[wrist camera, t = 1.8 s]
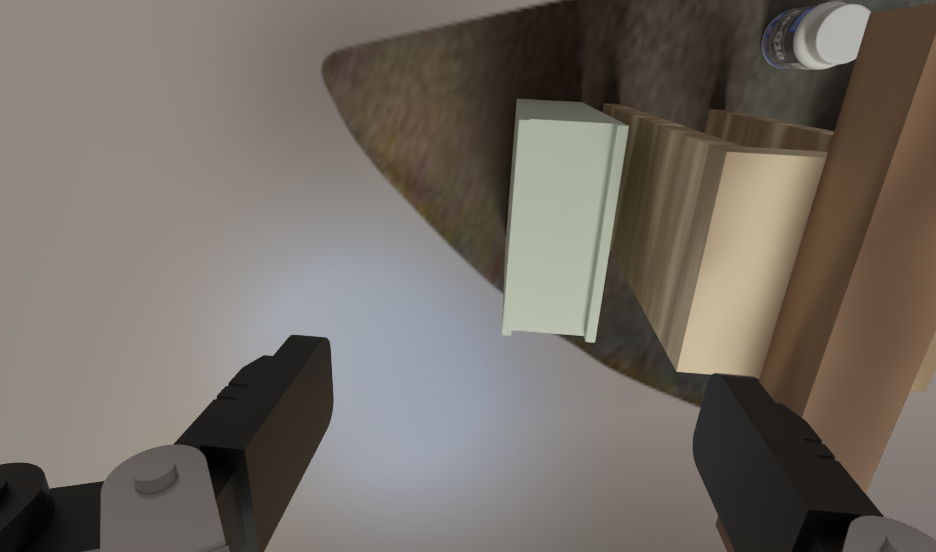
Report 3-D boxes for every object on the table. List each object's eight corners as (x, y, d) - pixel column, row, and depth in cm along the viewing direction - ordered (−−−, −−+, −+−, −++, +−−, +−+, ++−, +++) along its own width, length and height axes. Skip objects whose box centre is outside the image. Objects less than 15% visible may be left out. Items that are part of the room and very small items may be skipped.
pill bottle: (768, 7, 44) (823, -6, 36) (825, 11, 44) (892, -2, 36) (753, 67, 46) (802, 67, 38) (808, 71, 46) (868, 71, 38)
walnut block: (975, 17, 18) (1076, 6, 15) (784, 531, 27) (821, 594, 24) (869, 13, 18) (946, 1, 15) (715, 525, 27) (742, 586, 24)
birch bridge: (725, 109, 47) (1024, 169, 20) (701, 216, 51) (925, 391, 23) (603, 103, 48) (726, 151, 20) (588, 208, 52) (676, 371, 24)
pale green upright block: (581, 102, 48) (629, 125, 28) (564, 240, 53) (594, 342, 34) (516, 98, 49) (519, 119, 29) (505, 236, 54) (501, 335, 34)
